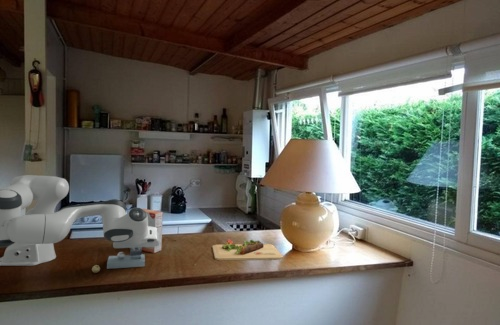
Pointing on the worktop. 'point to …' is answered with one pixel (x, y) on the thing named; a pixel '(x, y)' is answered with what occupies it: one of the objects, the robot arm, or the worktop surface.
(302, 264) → the worktop surface
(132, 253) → the block
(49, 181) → the robot arm
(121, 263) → the deck
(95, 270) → the brass ball
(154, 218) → the cracker box
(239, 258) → the cutting board
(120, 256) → the ball
